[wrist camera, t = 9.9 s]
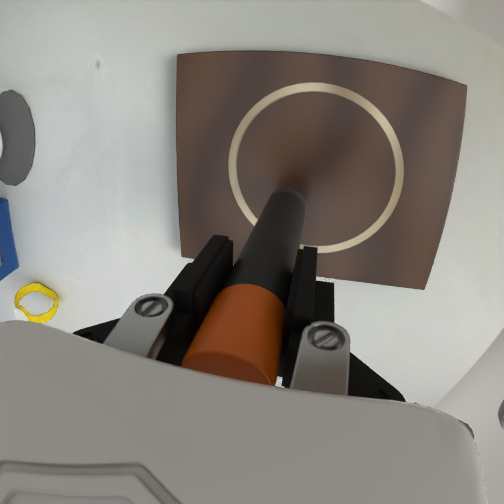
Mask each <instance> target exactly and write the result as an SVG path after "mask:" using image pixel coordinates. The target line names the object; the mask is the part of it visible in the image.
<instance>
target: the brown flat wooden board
mask: <svg viewBox="0 0 504 504" xmlns="http://www.w3.org/2000/svg"><path fill="white" fill-rule="evenodd" d="M466 94H467V85H465V84H462V83H458V82H455V81H452V80H449V79H446V78H442V77H439V76H435V75H432V74H428V73H424V72H420V71H416V70H412V69H408V68H404V67H399V66H395V65H390V64H385V63H380V62H374V61H369V60H363V59H356V58H349V57H342V56H334V55H325V54H315V53H303V52H287V51H213V52H197V53H185V54H178V55H177V81H176V152H177V185H178V208H179V226H180V241H181V255H182V257H185V258H192V259H195V258H196V257H197V256H198V254H199V253H200V252H201V250H202V249H203V248H204V246H205V245H206V244H207V243H208V241H209V240H210V239H211V237H212V236H213V235H214V234H215V235H224V236H228V237H229V240H233V265H234V264H235V262H236V260H237V258H238V256H239V254H240V253H241V251H242V249H243V247H244V245H245V243H246V241H247V239H248V237H249V235H250V234H251V232H252V230H253V228H254V226H255V224H256V222H257V220H258V218H259V216H260V215H261V213H262V211H263V209H264V207H265V205H266V203H267V201H268V199H269V198H270V196H271V194H272V193H273V192H274V191H276V190H277V189H280V188H284V187H289V188H293V189H295V190H297V191H298V192H300V193H301V194H302V196H303V197H304V199H305V202H306V211H305V217H304V224H303V230H302V236H301V242H300V248H299V249H303V248H304V246H311V247H318V252H317V270H316V276H319V277H327V278H334V279H342V280H349V281H357V282H365V283H373V284H380V285H388V286H396V287H404V288H413V289H421V290H424V289H425V286H426V284H427V281H428V278H429V275H430V272H431V269H432V266H433V262H434V259H435V256H436V253H437V249H438V246H439V243H440V239H441V236H442V232H443V228H444V224H445V221H446V217H447V213H448V209H449V204H450V200H451V196H452V191H453V186H454V181H455V176H456V171H457V166H458V160H459V154H460V147H461V141H462V133H463V125H464V116H465V106H466Z"/></svg>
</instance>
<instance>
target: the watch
mask: <svg viewBox="0 0 504 504" xmlns="http://www.w3.org/2000/svg"><path fill="white" fill-rule="evenodd" d="M31 292H41V293H43V294H44V295H46V296H48V297H50V298H51V299H53V300H54V304H53V307H52V308H51V309H50V310H49V311H48V312H46V313H43V314H40V315H30V314H29V312H28V311H27V310H26V309H25V308H24V307H22V306H20V305H19V301H20V300H21V299H22V298H23V297H24V295H27V294H29V293H31ZM14 303H15V309H14V313H15V315H16V317H17V319H18V320H24V321H30V322H37V323H41V324H42V323H45V322H47V321H49V320H51V319H52V318H53V317H54V316H55V314H56V312H57V308H58V300H57V296H56V293H55V292H54V291H52V290H50V289H48V288H47V287H45V286H43V285H42V284H41V283H31V284H28V285H26V286H23V287H22V288H21V289H20V290H19V291H18V292H17V293H16V296H15V301H14Z"/></svg>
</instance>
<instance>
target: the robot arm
mask: <svg viewBox="0 0 504 504" xmlns="http://www.w3.org/2000/svg"><path fill="white" fill-rule="evenodd" d="M317 252H318V247H311V246H304V248H303V249H298V250H297V255H296V261H295V266H294V272H293V277H292V282H291V287H290V293H289V298H288V303H287V309H286V315H285V323H284V330H283V337H282V343H283V350H282V355H281V360H280V365H279V369H278V374H277V376H279V377H283V379H282V386H284V387H285V388H282V387H276V386H270V385H264V384H258V383H253V382H247V381H242V380H237V379H232V378H227V377H222V376H218V375H213V374H209V373H204V372H200V371H196V370H191V369H187V368H183V367H180V366H181V362H182V360H183V358H184V356H185V354H186V352H187V350H188V348H189V347H190V345H191V343H192V341H193V339H194V337H195V335H196V333H197V331H198V329H199V327H200V325H201V324H202V322H203V320H204V318H205V316H206V314H207V312H208V310H209V308H210V306H211V305H212V303H213V301H214V299H215V297H216V296H217V295H218V293H220V291H221V289H222V287H223V285H224V283H225V281H226V279H227V277H228V275H229V274H230V272H231V270H232V268H233V240H229V237H228V236H224V235H215V234H214V235H213V236H212V237H211V239H210V240H209V241H208V243H207V244H206V245H205V246H204V248H203V249H202V250H201V252H200V253H199V254H198V256H197V257H196V258H195V260H194V261H193V262H192V263H188V264H187V265H186V266H185V267H184V268H183V270H182V271H181V272H180V274H179V275H178V276H177V278H176V279H175V280H174V282H173V283H172V284H171V286H170V287H169V288H168V289H167V291H166V292H165V293H164V295H162V294H155V293H153V294H146V295H143V296H140V297H139V298H137V299H136V300H134V301H133V302H132V304H131V305H130V306H129V308H128V309H127V310H126V312H125V313H124V315H123V316H122V317H121V318H119V319H115V320H112V321H108V322H105V323H101V324H98V325H94V326H91V327H87V328H84V329H80V330H78V331H75V332H74V333H69V332H65V331H62V330H59V329H57V328H54V327H51V326H48V325H44V324H41V323H37V322H30V321H24V320H13V321H6V322H1V323H0V504H488V498H487V491H486V484H485V478H484V472H483V468H482V464H481V460H480V456H479V453H478V450H477V447H476V444H475V442H474V434H473V431H472V429H471V428H470V427H469V426H468V424H466V423H464V422H462V421H460V420H457V419H455V418H454V417H452V416H450V415H448V414H446V413H444V412H441V411H439V410H436V409H433V408H430V407H427V406H422V405H419V404H417V403H408V402H406V401H405V399H404V397H403V395H402V394H401V393H400V392H399V391H398V390H397V389H396V388H394V387H393V386H392V385H391V384H389V383H388V382H387V381H386V380H384V379H383V378H382V377H381V376H379V375H378V374H377V373H376V372H374V371H373V370H372V369H371V368H369V367H368V366H367V365H366V364H364V363H363V362H362V361H361V360H359V359H358V358H357V357H356V356H354V355H353V354H352V353H351V352H350V336H349V334H348V332H347V331H346V330H345V329H344V328H343V327H342V326H340V325H338V324H336V323H334V283H330V282H323V281H316V270H317Z"/></svg>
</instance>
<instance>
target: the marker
mask: <svg viewBox="0 0 504 504" xmlns="http://www.w3.org/2000/svg"><path fill="white" fill-rule="evenodd" d="M305 211H306V202H305V199H304V197H303V196H302V194H301V193H300V192H298V191H297V190H295V189H293V188H289V187H284V188H280V189H277V190H276V191H274V192H273V193H272V194H271V196H270V198H269V199H268V201H267V203H266V205H265V207H264V209H263V211H262V213H261V215H260V216H259V218H258V220H257V222H256V224H255V226H254V228H253V230H252V232H251V234H250V235H249V237H248V239H247V241H246V243H245V245H244V247H243V249H242V251H241V253H240V254H239V256H238V258H237V260H236V262H235V264H234V266H233V268H232V270H231V272H230V274H229V275H228V277H227V279H226V281H225V283H224V285H223V287H222V289H221V291H220V293H218V295H217V296H216V297H215V299H214V301H213V303H212V305H211V306H210V308H209V310H208V312H207V314H206V316H205V318H204V320H203V322H202V324H201V325H200V327H199V329H198V331H197V333H196V335H195V337H194V339H193V341H192V343H191V345H190V347H189V348H188V350H187V352H186V354H185V356H184V358H183V360H182V362H181V366H180V367H183V368H187V369H191V370H196V371H200V372H204V373H209V374H213V375H218V376H222V377H227V378H232V379H237V380H242V381H247V382H253V383H258V384H264V385H270V386H275V384H276V379H277V374H278V369H279V365H280V360H281V355H282V350H283V343H282V337H283V330H284V323H285V315H286V309H287V303H288V298H289V293H290V287H291V282H292V277H293V272H294V266H295V261H296V255H297V250H298V249H299V248H300V242H301V236H302V230H303V224H304V217H305Z"/></svg>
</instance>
